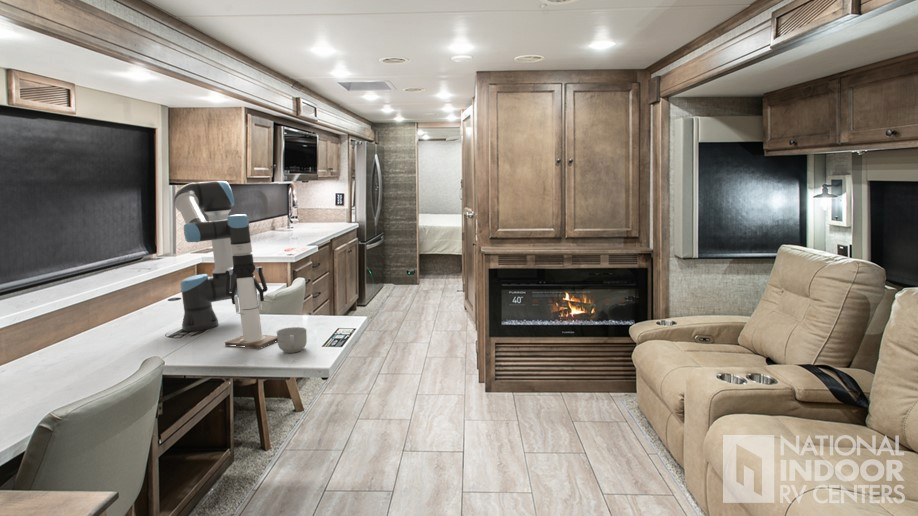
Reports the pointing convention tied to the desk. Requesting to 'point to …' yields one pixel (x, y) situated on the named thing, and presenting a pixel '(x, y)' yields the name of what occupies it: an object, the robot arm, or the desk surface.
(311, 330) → the desk surface
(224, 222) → the robot arm
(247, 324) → the cylindrical container
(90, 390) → the desk surface
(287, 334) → the teacup
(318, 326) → the desk surface
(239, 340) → the board
